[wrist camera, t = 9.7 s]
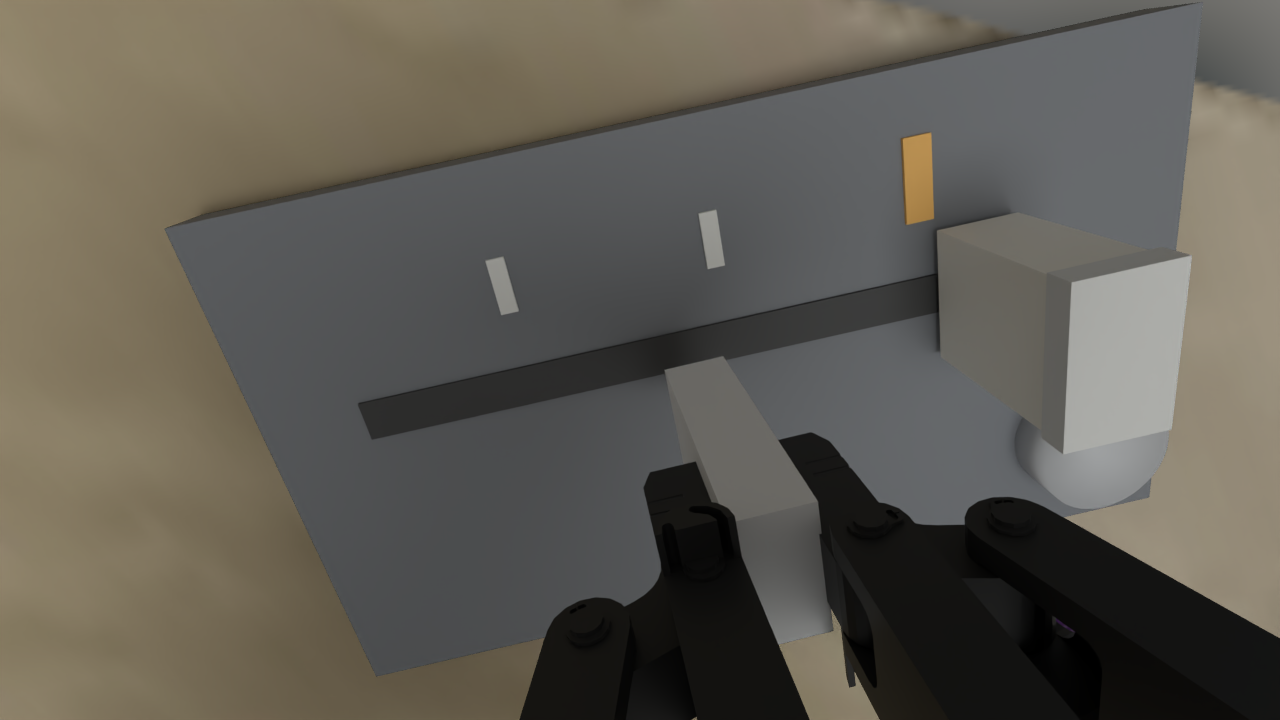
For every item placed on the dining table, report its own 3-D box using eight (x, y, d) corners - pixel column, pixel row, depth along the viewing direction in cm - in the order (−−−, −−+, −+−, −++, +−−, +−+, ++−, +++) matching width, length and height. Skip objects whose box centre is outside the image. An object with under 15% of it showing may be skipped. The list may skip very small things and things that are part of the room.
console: (389, 633, 26) (363, 715, 23) (201, 215, 20) (128, 241, 16) (1108, 468, 26) (1186, 523, 23) (1144, 9, 20) (1258, -6, 17)
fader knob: (937, 360, 21) (1063, 454, 16) (933, 227, 20) (1071, 282, 14) (1018, 342, 21) (1171, 429, 16) (1021, 208, 20) (1192, 255, 14)
